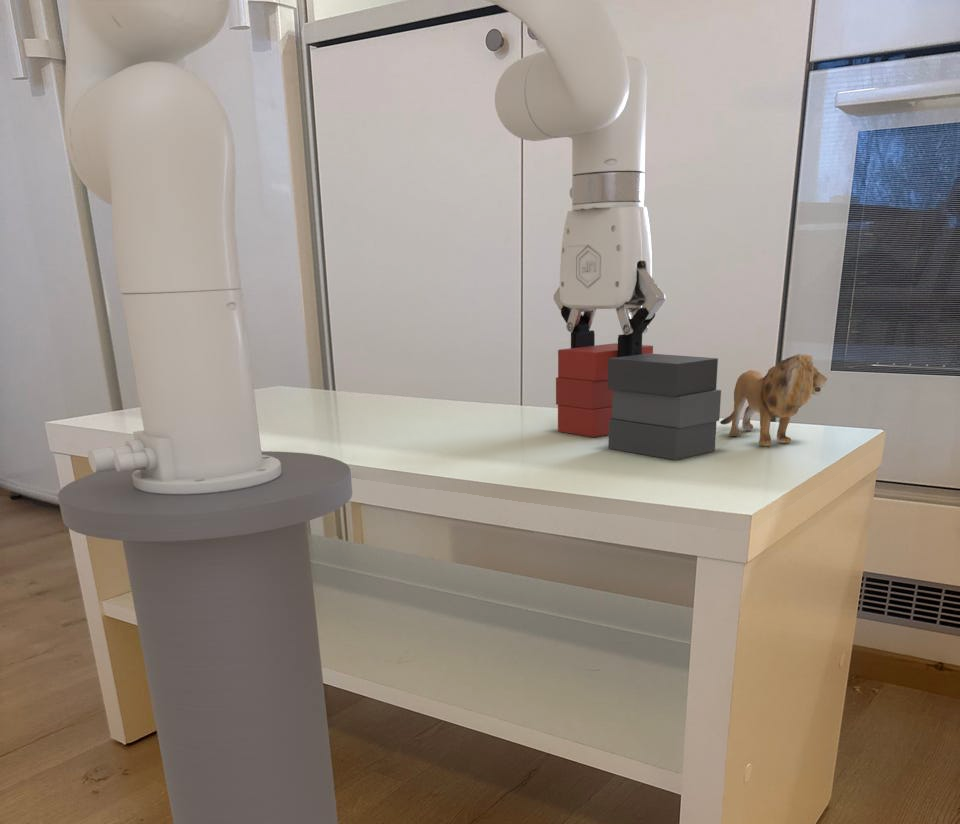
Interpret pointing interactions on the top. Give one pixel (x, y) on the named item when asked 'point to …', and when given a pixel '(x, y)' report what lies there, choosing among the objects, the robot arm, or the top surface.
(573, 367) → the red rectangular block
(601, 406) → the red blocks
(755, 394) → the lion figurine
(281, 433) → the top surface
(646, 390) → the grey blocks
